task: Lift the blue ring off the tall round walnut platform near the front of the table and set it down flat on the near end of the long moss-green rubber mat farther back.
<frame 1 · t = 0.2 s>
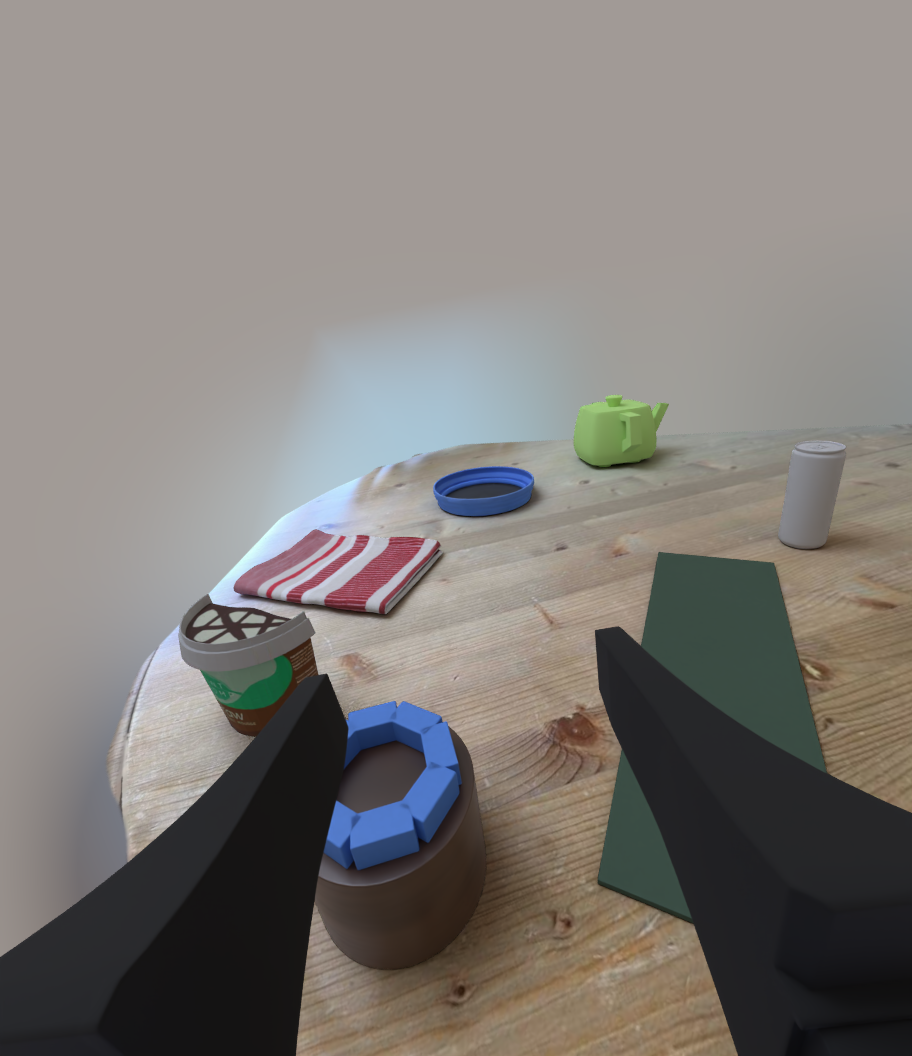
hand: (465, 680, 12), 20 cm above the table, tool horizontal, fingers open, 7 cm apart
platform: (403, 863, 27), on the table
mat: (715, 669, 39), on the table
beverage can: (800, 543, 56), on the table
food container: (260, 719, 40), on the table
teapot: (622, 459, 96), on the table
ring: (382, 783, 25), point 7 cm above the table, touching platform
bowl: (484, 500, 83), on the table
dish towel: (344, 575, 63), on the table
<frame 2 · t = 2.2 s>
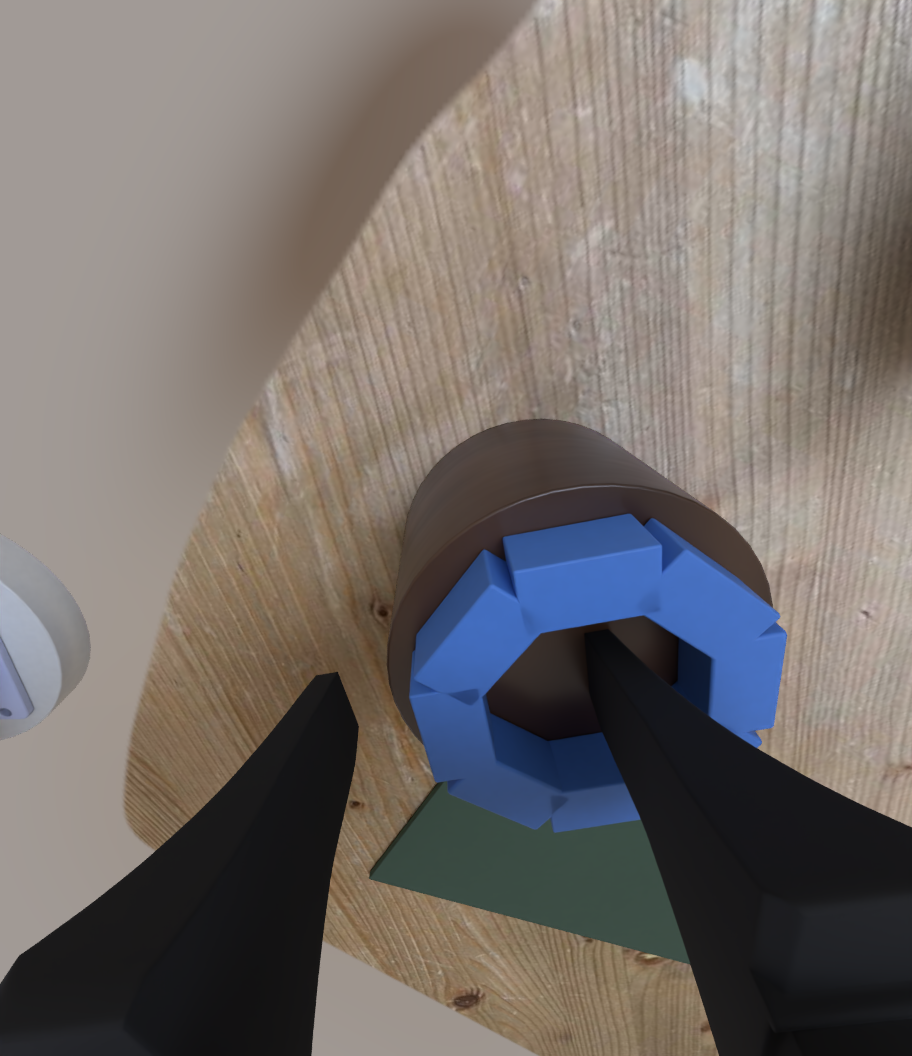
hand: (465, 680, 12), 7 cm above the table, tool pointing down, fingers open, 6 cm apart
platform: (529, 544, 18), on the table
mat: (693, 898, 29), on the table
ring: (579, 665, 12), point 7 cm above the table, touching platform
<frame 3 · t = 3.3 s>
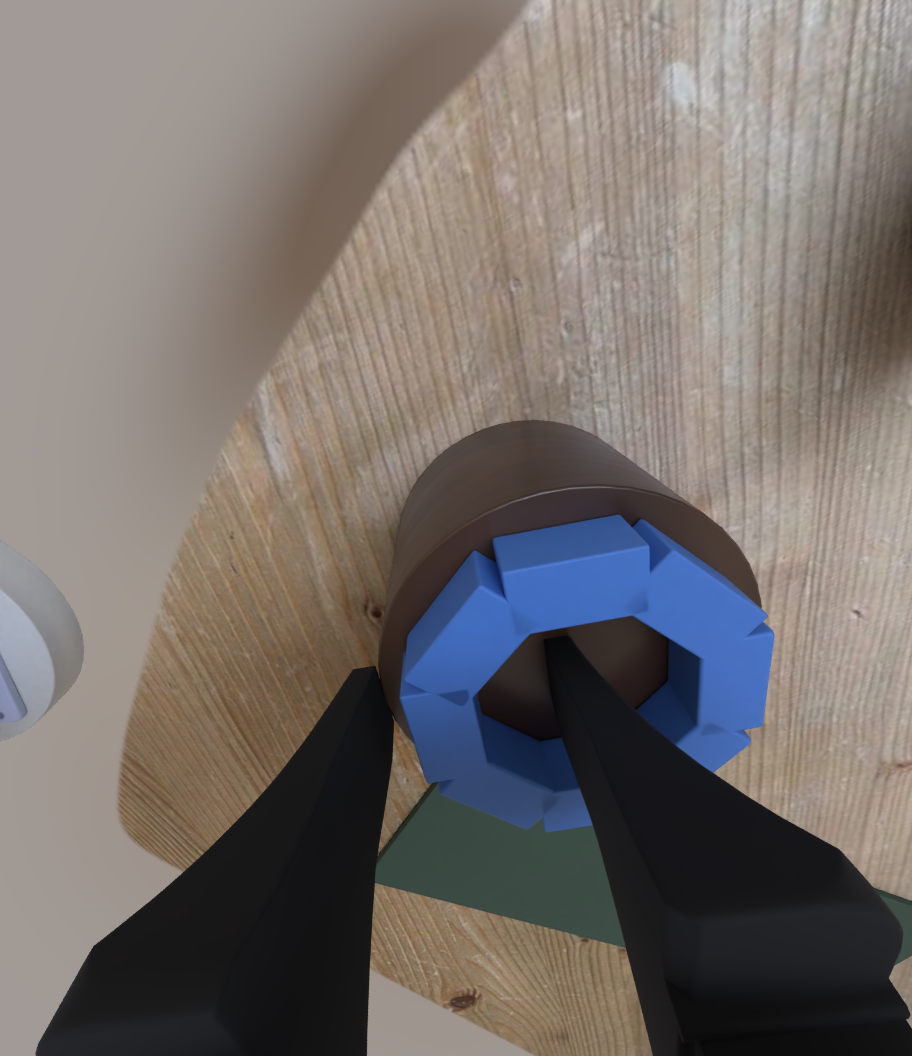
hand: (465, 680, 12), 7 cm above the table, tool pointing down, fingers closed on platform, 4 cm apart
platform: (523, 545, 18), on the table
mat: (688, 897, 30), on the table
ring: (570, 665, 12), point 7 cm above the table, touching platform
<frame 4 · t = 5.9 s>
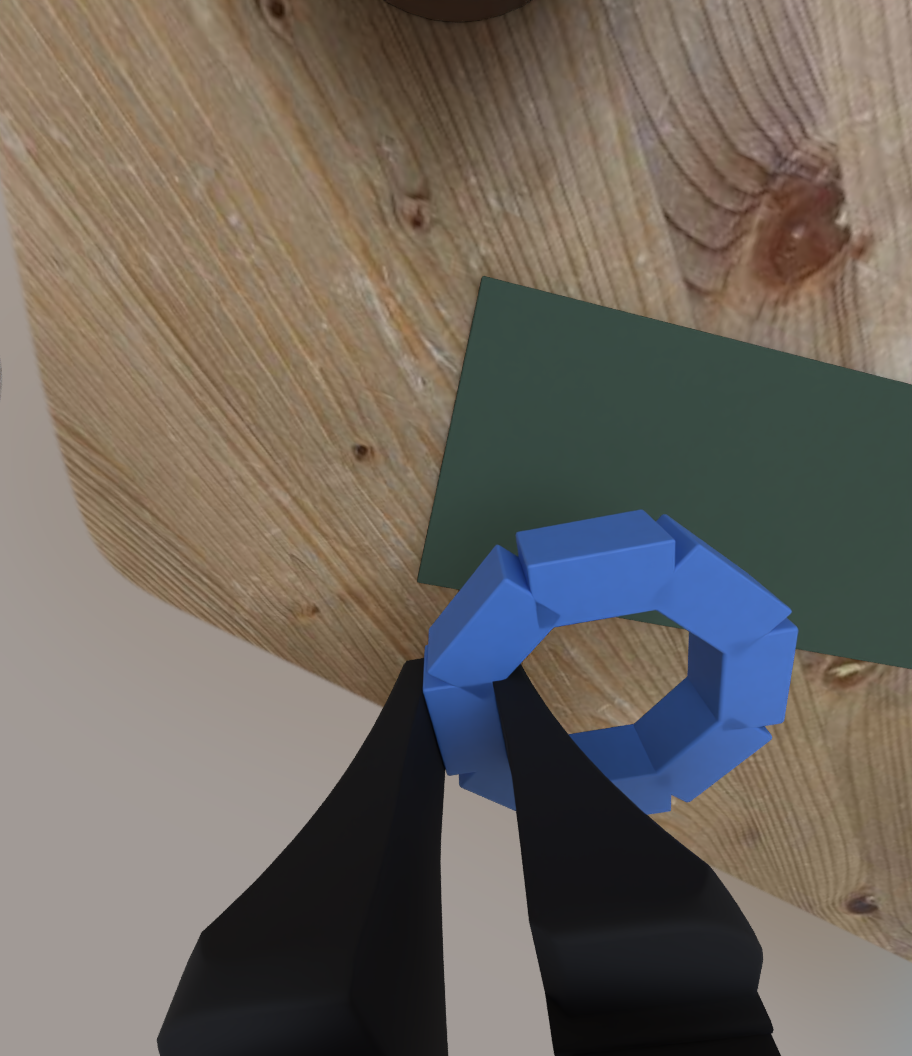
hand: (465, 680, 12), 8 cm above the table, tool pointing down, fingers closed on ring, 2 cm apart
mat: (893, 541, 20), on the table
ring: (589, 661, 12), point 8 cm above the table, touching gripper
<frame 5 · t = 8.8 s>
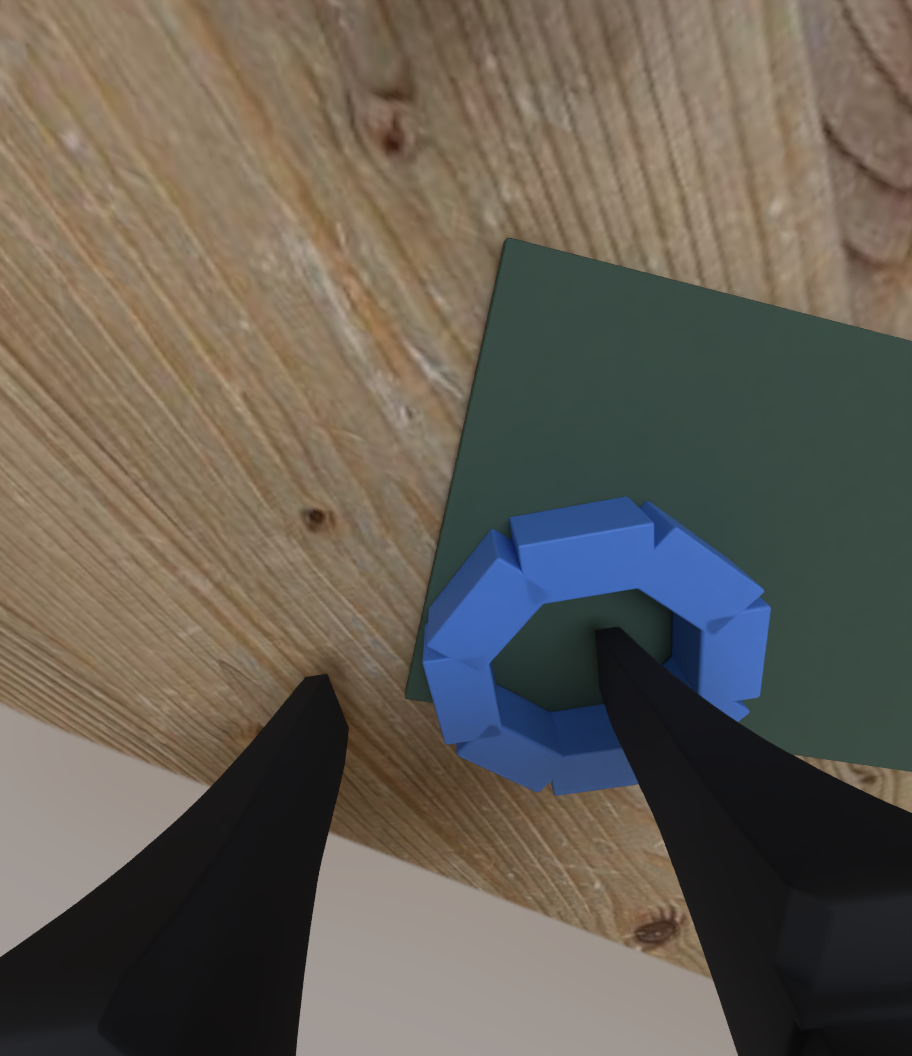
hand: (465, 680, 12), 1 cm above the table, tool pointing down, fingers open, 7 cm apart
ring: (579, 640, 13), resting on mat
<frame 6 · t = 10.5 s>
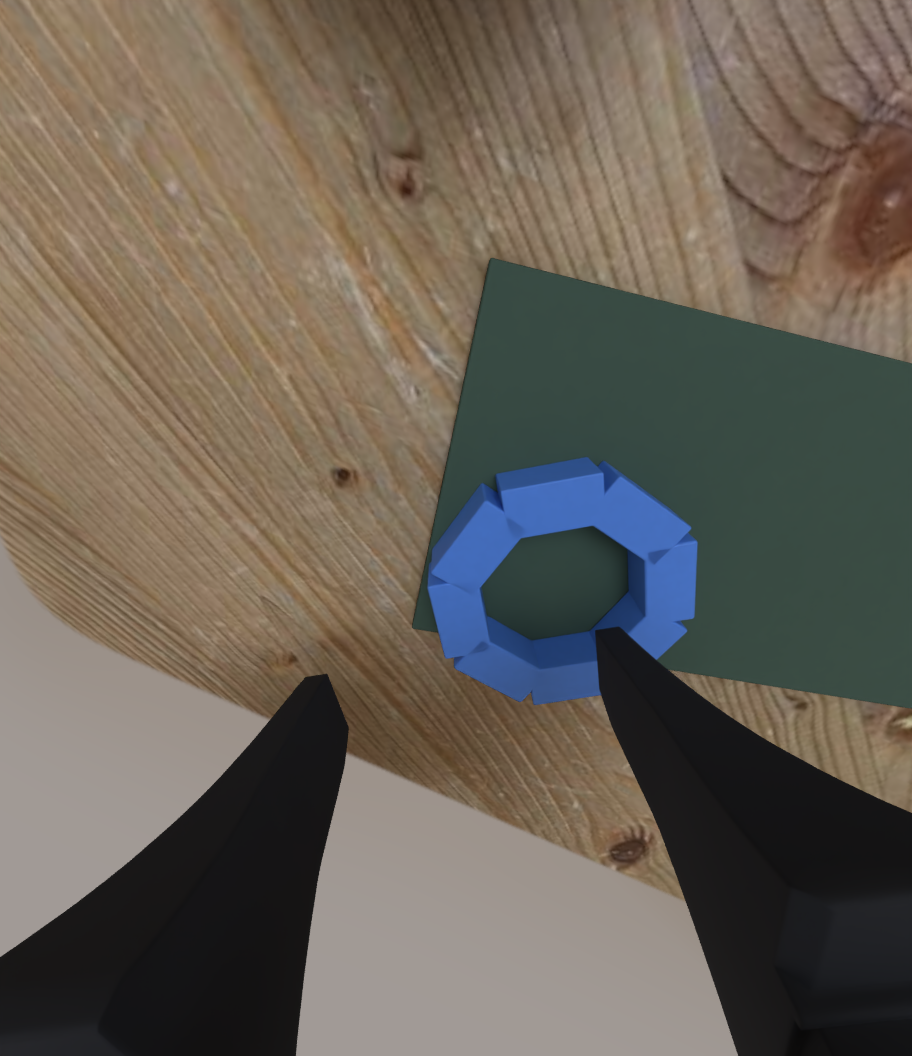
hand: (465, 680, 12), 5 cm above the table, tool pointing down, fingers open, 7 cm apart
ring: (553, 577, 16), resting on mat
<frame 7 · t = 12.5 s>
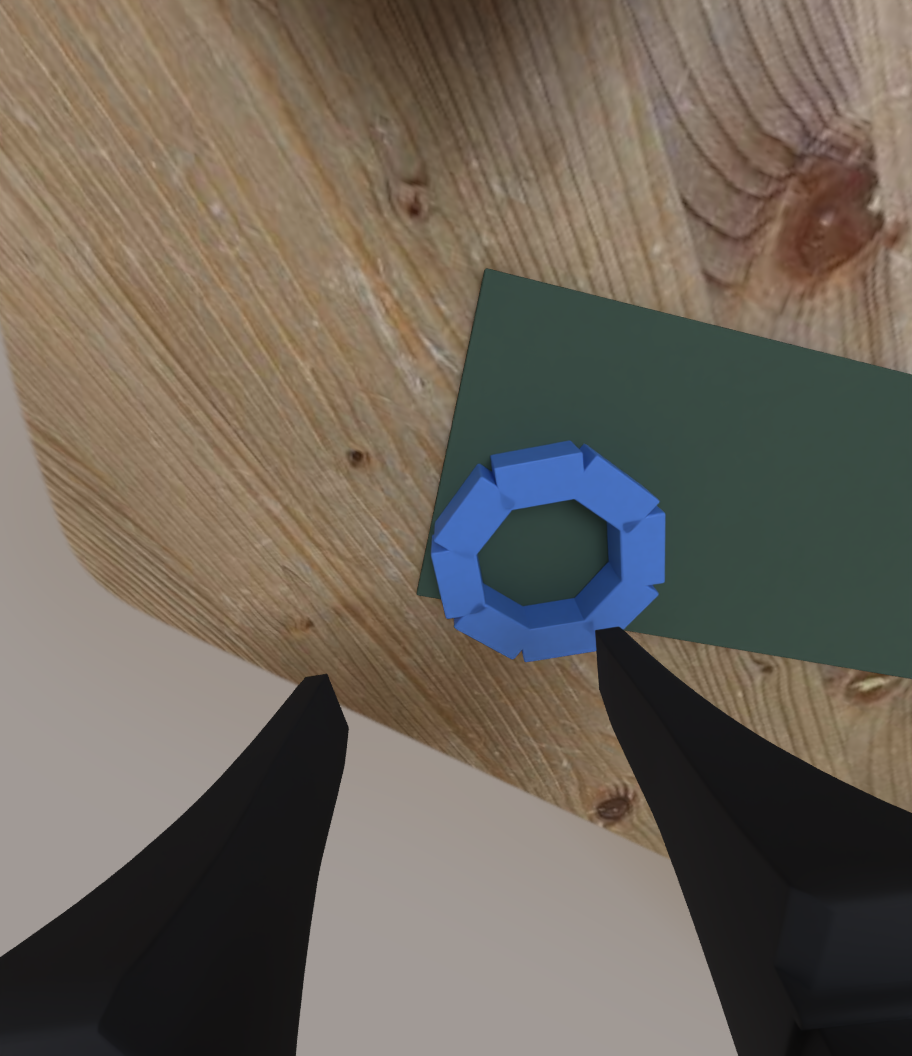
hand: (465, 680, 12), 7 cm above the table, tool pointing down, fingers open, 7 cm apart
ring: (542, 548, 18), resting on mat
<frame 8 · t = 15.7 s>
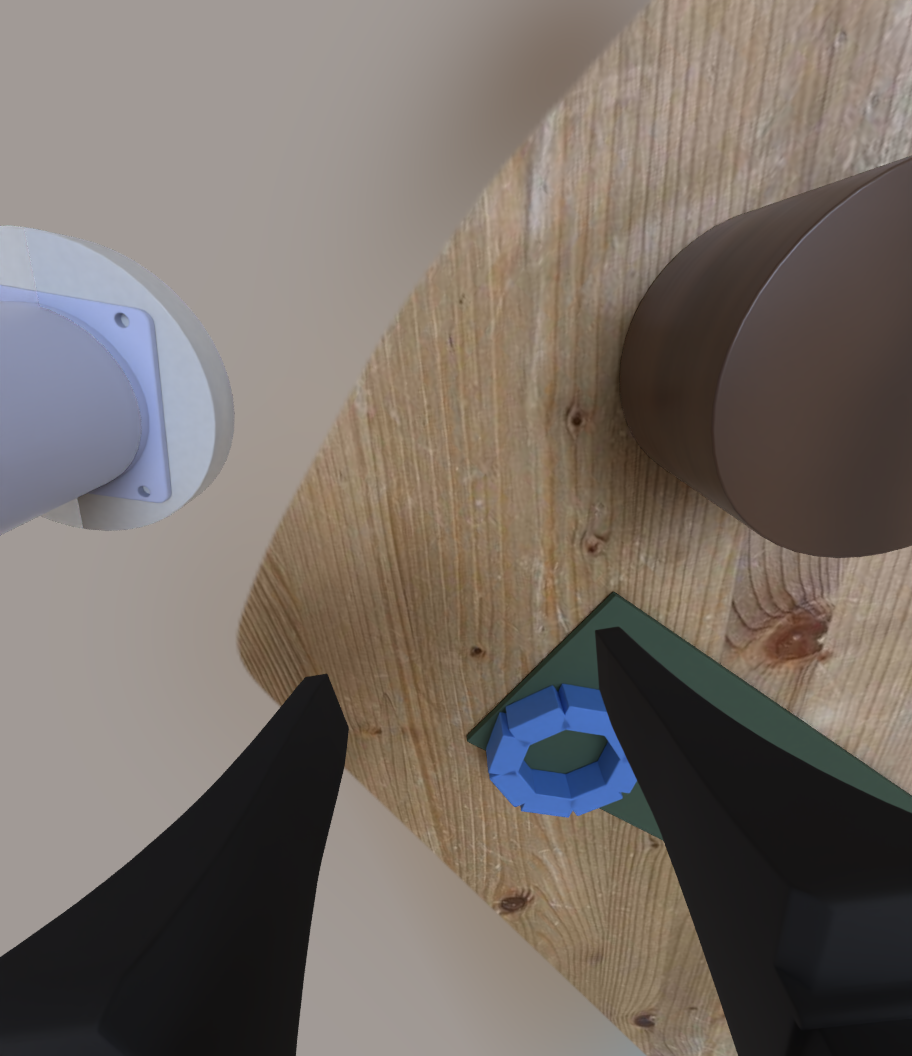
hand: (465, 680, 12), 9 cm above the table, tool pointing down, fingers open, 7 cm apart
platform: (747, 360, 18), on the table
mat: (770, 807, 29), on the table
ring: (562, 741, 26), resting on mat
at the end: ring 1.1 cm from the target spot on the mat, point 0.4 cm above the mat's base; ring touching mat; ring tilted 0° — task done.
